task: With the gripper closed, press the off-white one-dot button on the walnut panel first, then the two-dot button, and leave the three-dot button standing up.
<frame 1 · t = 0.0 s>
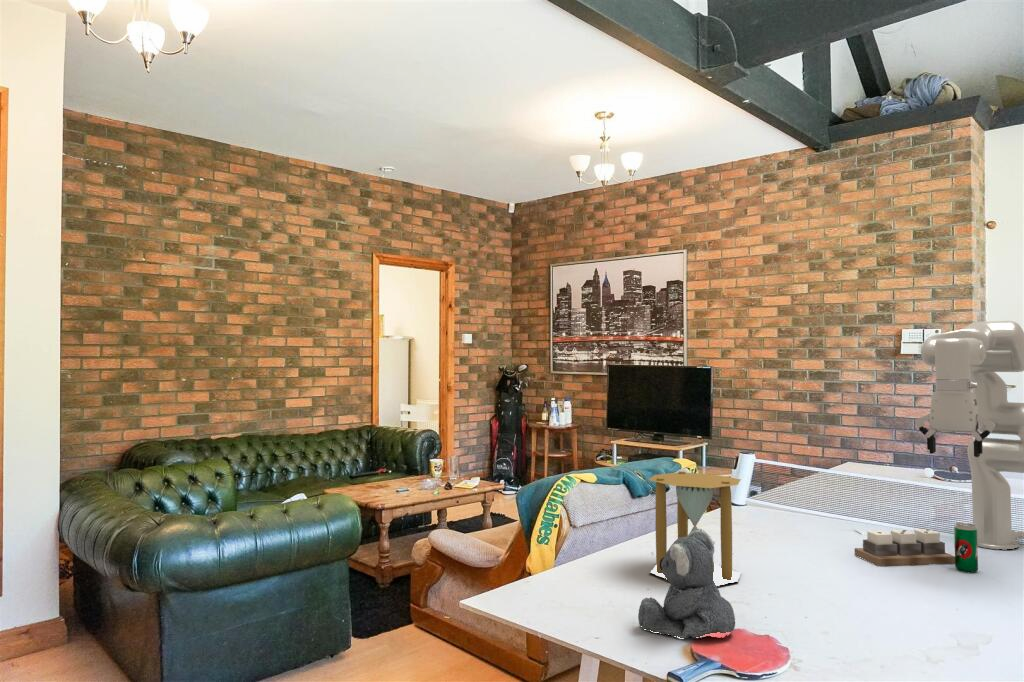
hand: (954, 454, 175), 31 cm above the table, tool pointing down, fingers open, 9 cm apart
two dot button: (927, 537, 193), point 6 cm above the table, slide at 0.0 cm
three dot button: (903, 538, 192), point 6 cm above the table, slide at 0.0 cm
one dot button: (879, 539, 192), point 6 cm above the table, slide at 0.0 cm
koala plush: (691, 629, 143), on the table
soda can: (966, 571, 182), on the table
button panel: (903, 559, 192), on the table
hourglass: (695, 575, 180), on the table
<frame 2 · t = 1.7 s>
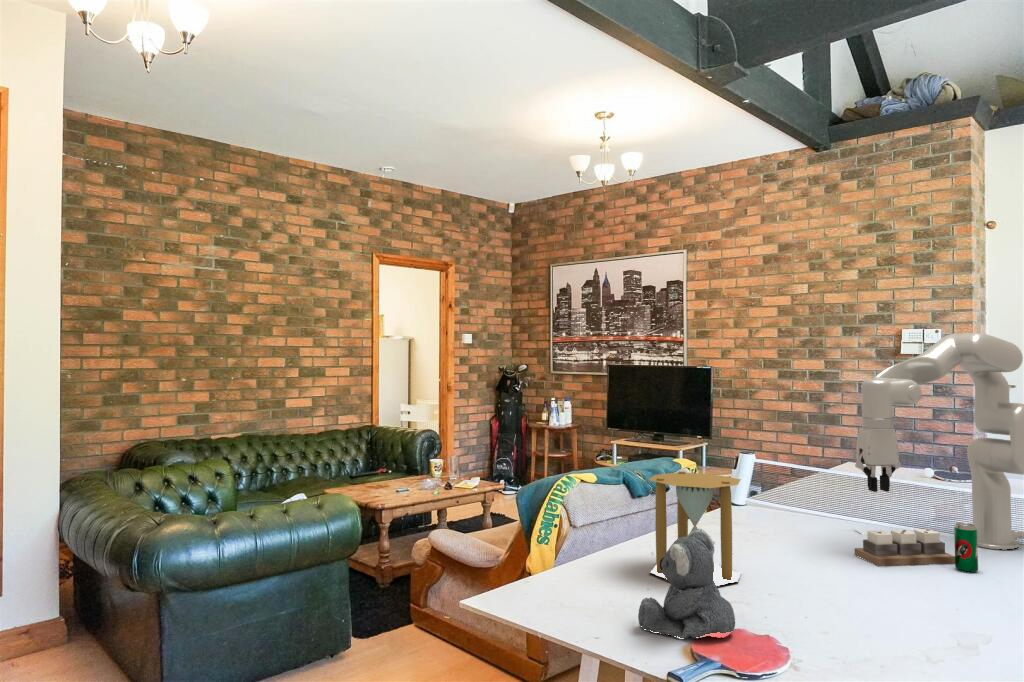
hand: (878, 490, 192), 19 cm above the table, tool pointing down, fingers closed
nothing on the table moved.
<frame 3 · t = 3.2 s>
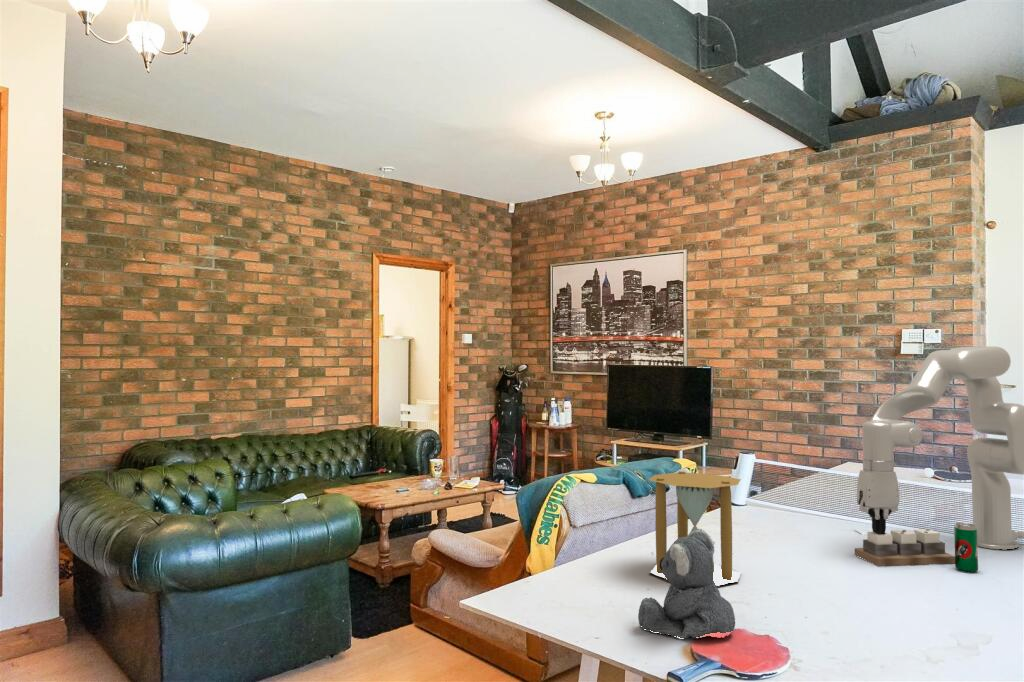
hand: (878, 533, 192), 7 cm above the table, tool pointing down, fingers closed
one dot button: (879, 539, 192), point 6 cm above the table, slide at 0.2 cm, touching gripper
everything else where it was.
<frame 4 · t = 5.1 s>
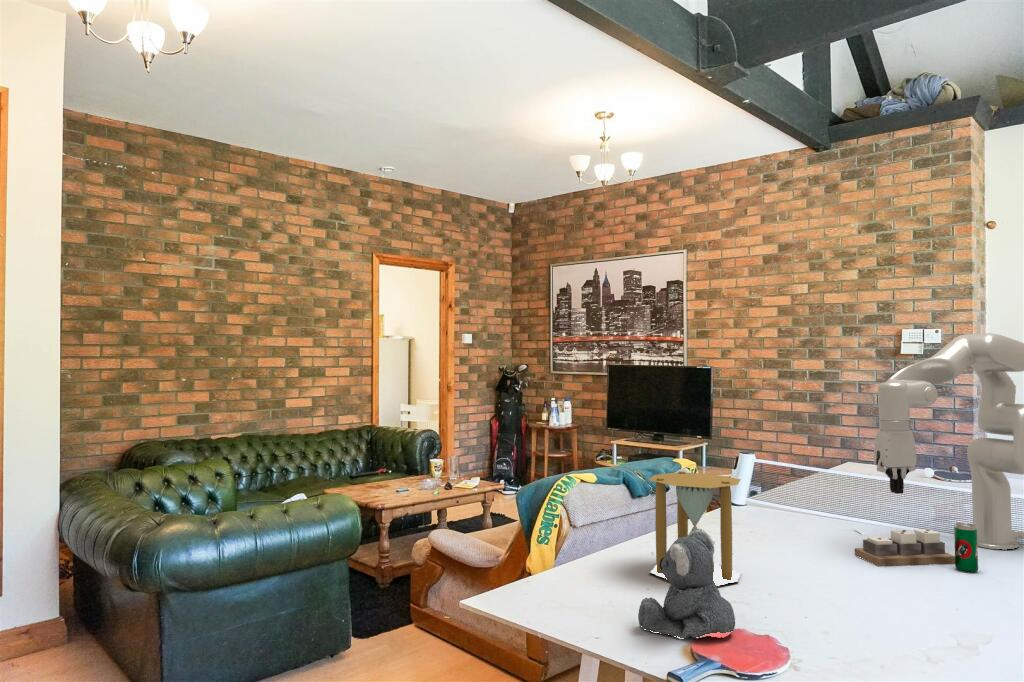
hand: (897, 492, 193), 18 cm above the table, tool pointing down, fingers closed
one dot button: (879, 545, 192), point 4 cm above the table, slide at 1.7 cm
everything else where it was.
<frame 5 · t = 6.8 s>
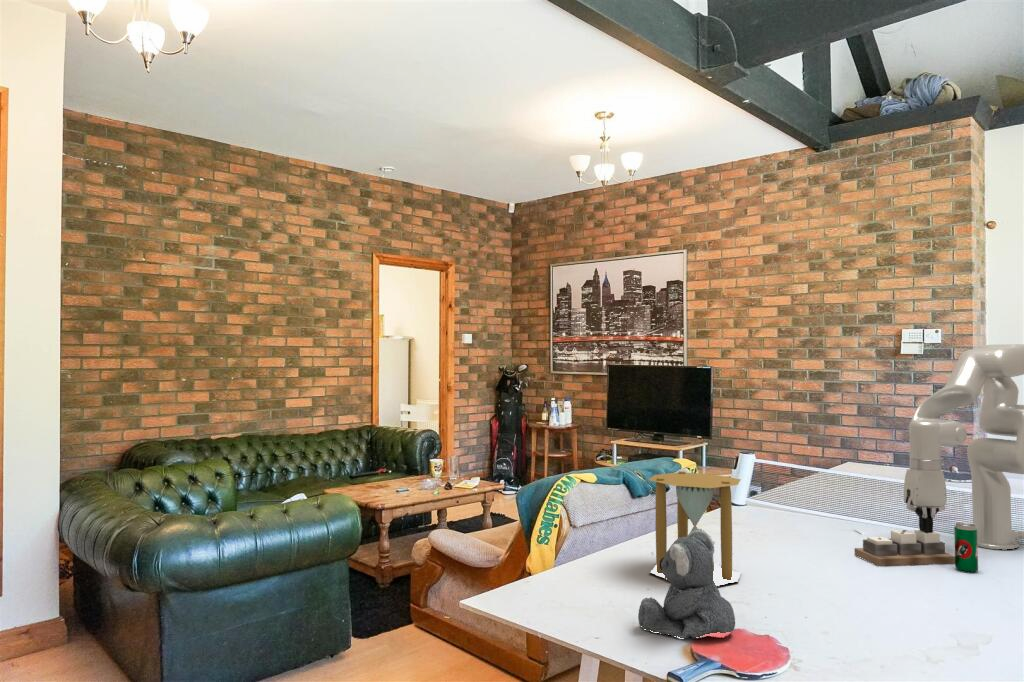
hand: (926, 531, 193), 8 cm above the table, tool pointing down, fingers closed
two dot button: (927, 538, 193), point 6 cm above the table, slide at 0.2 cm, touching gripper
everything else where it was.
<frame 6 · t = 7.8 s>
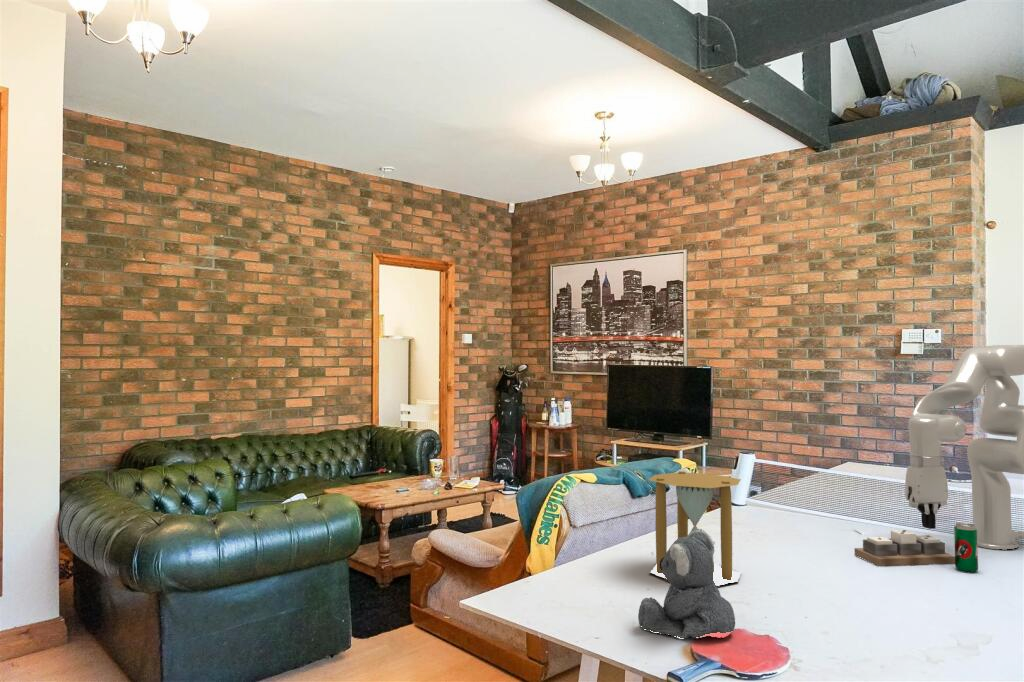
hand: (928, 527, 194), 8 cm above the table, tool pointing down, fingers closed
two dot button: (927, 543, 193), point 4 cm above the table, slide at 1.7 cm
everything else where it was.
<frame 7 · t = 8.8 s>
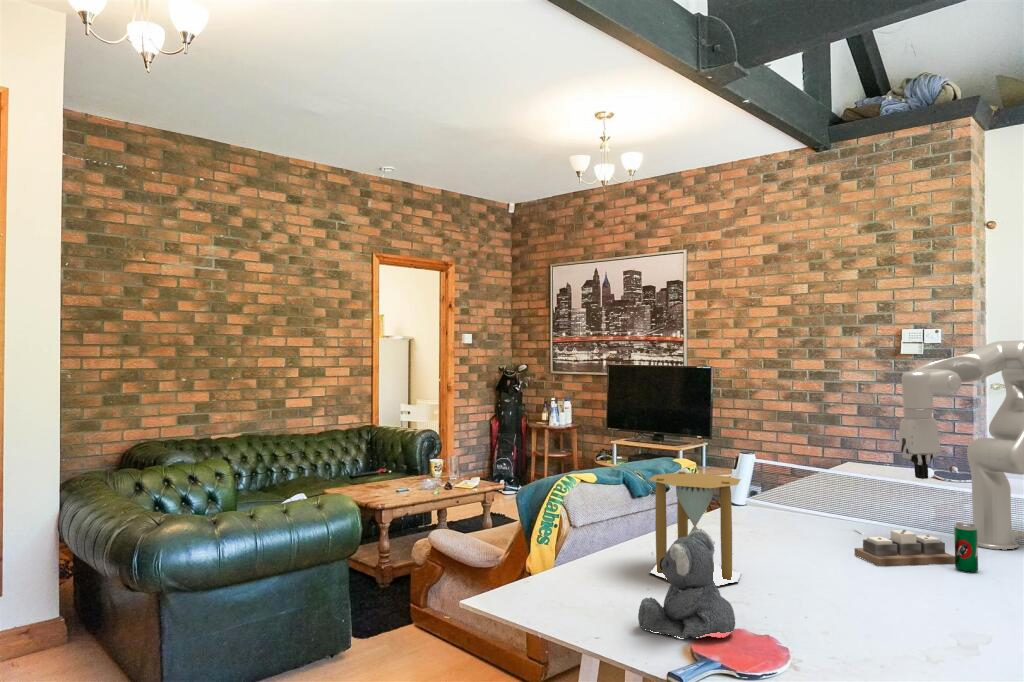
hand: (921, 478, 200), 21 cm above the table, tool pointing down, fingers closed
nothing on the table moved.
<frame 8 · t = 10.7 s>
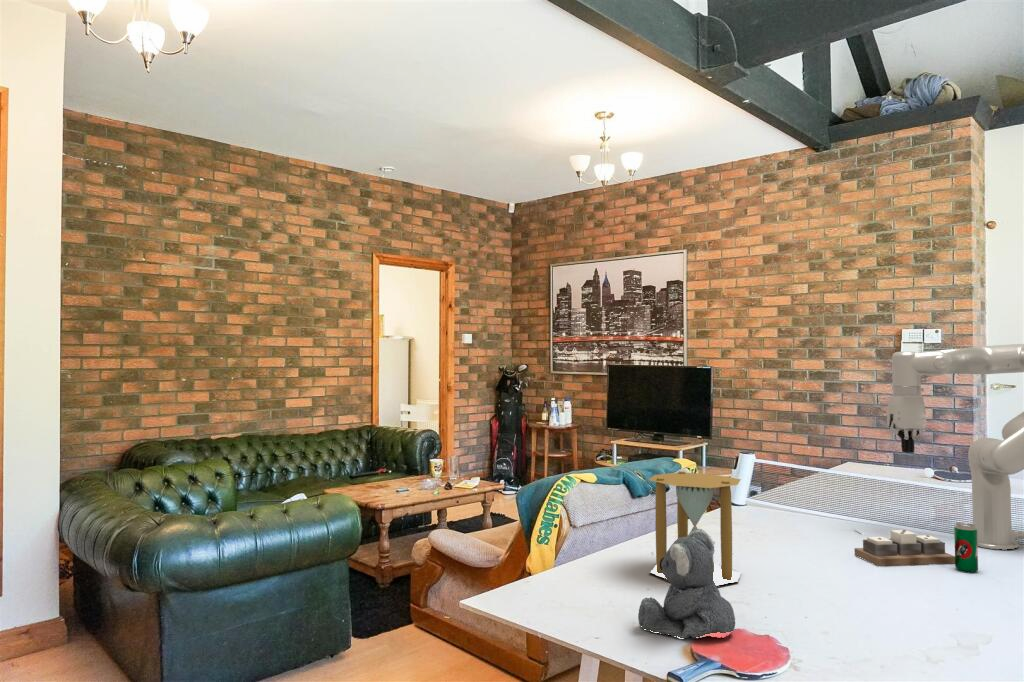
hand: (907, 452, 211), 27 cm above the table, tool pointing down, fingers closed
nothing on the table moved.
at the end: one dot button slide at 1.7 cm; two dot button slide at 1.7 cm; three dot button slide at 0.0 cm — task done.
